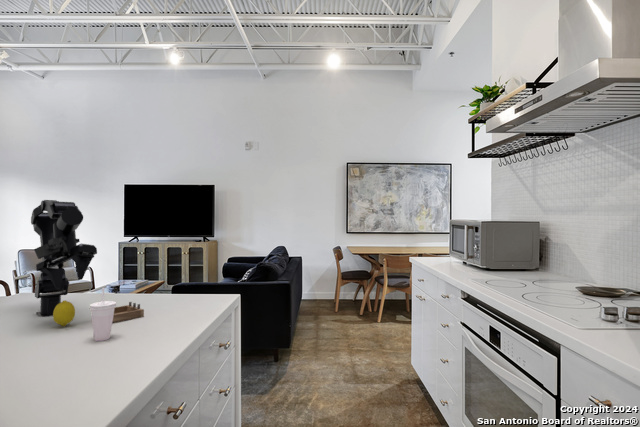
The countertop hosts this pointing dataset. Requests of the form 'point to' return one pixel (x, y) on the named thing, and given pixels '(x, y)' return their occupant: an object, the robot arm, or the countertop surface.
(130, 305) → the tray
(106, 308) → the smoothie
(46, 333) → the countertop surface
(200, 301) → the countertop surface
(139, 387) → the countertop surface
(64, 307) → the lemon
